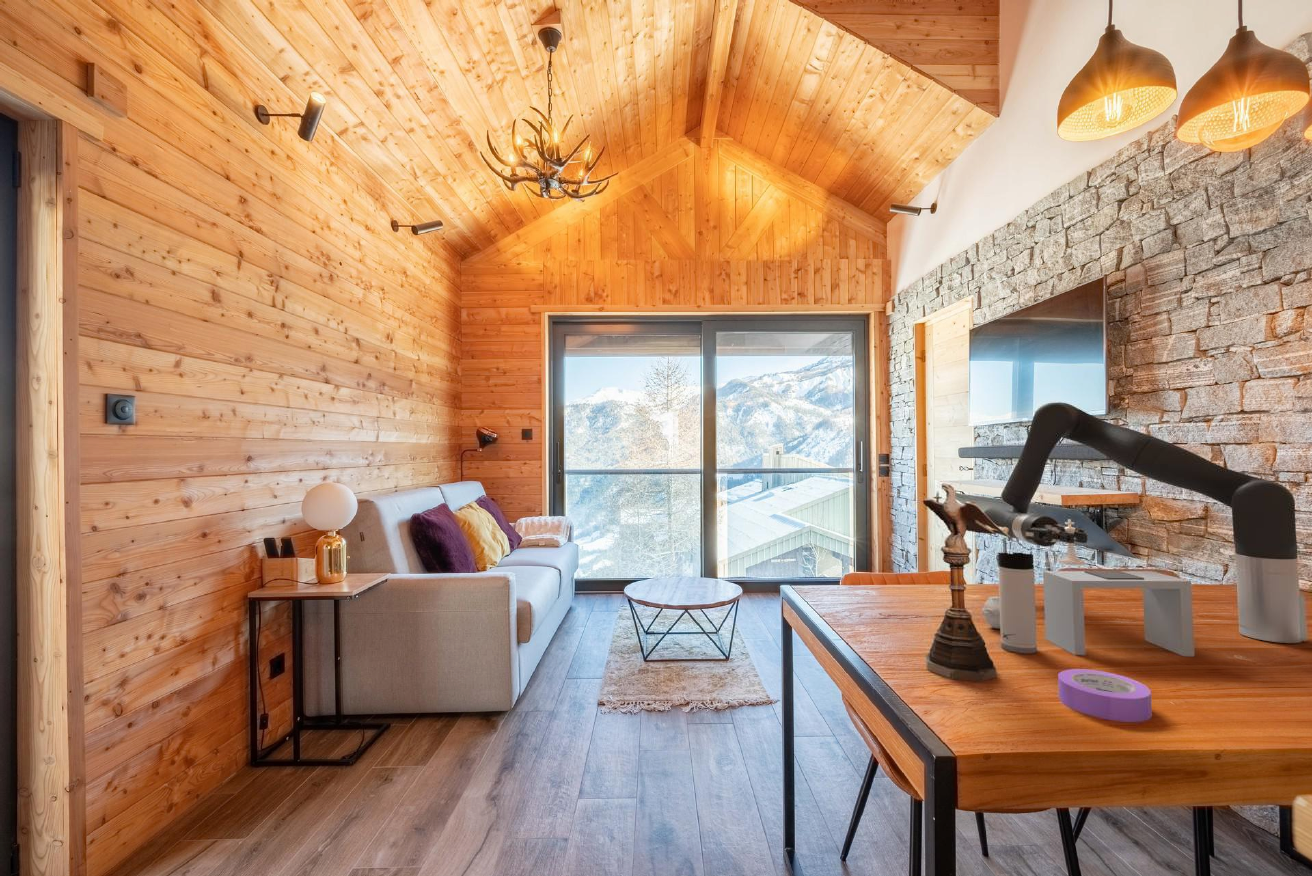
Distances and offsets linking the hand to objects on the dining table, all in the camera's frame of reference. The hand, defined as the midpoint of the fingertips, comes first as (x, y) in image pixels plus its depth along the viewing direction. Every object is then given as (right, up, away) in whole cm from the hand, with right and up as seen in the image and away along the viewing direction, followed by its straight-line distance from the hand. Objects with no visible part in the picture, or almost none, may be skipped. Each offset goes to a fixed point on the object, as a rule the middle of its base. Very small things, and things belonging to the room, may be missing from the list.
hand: (1078, 538), depth 131 cm
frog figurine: (-17, -21, +3) cm, 27 cm away
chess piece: (0, -6, +3) cm, 7 cm away
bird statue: (-37, -21, -21) cm, 47 cm away
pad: (-1, -6, -11) cm, 13 cm away
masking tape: (-24, -20, -39) cm, 50 cm away
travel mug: (-21, -21, -12) cm, 32 cm away
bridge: (-1, -20, -12) cm, 23 cm away
